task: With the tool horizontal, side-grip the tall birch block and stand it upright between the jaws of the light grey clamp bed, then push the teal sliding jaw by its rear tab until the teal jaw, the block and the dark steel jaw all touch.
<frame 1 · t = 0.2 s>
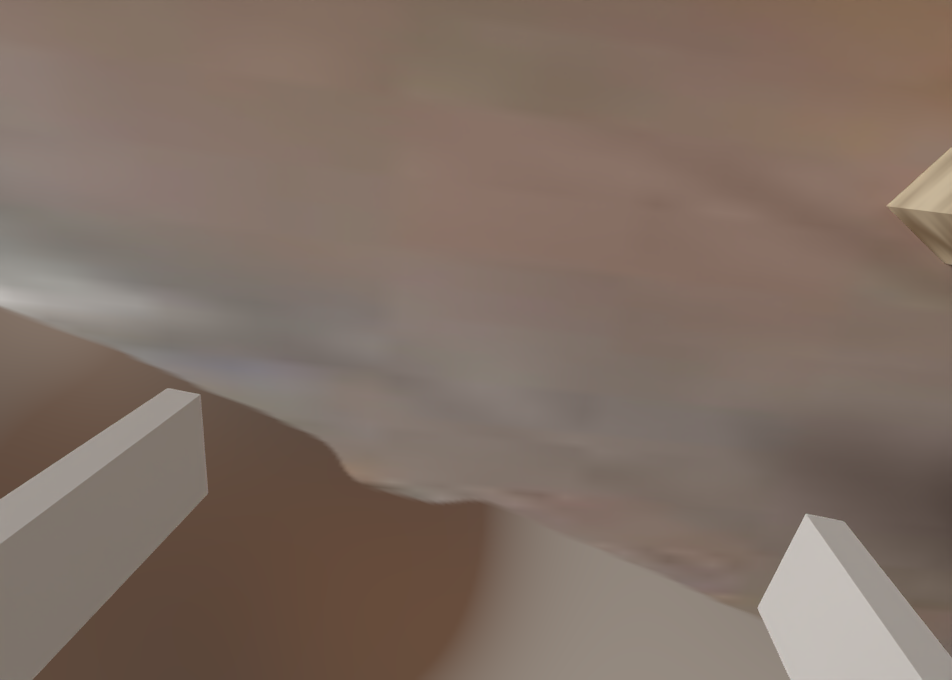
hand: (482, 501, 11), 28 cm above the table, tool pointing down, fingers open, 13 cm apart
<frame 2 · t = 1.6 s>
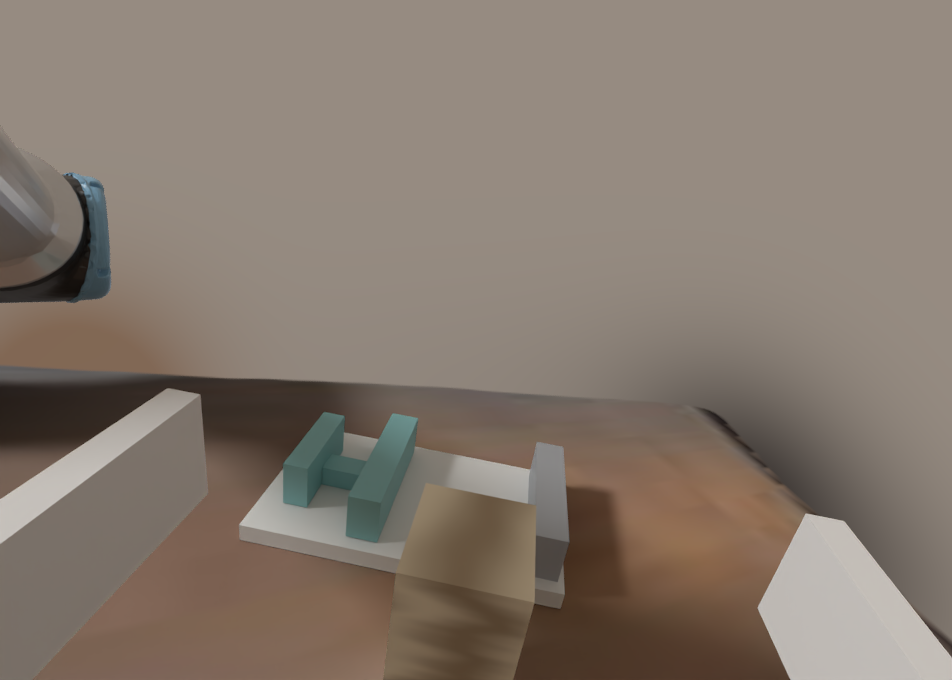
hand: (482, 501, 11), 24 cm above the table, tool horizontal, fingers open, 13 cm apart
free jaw: (352, 464, 43), point 4 cm above the table, slide at 0.0 cm
clamp bed: (434, 513, 44), on the table
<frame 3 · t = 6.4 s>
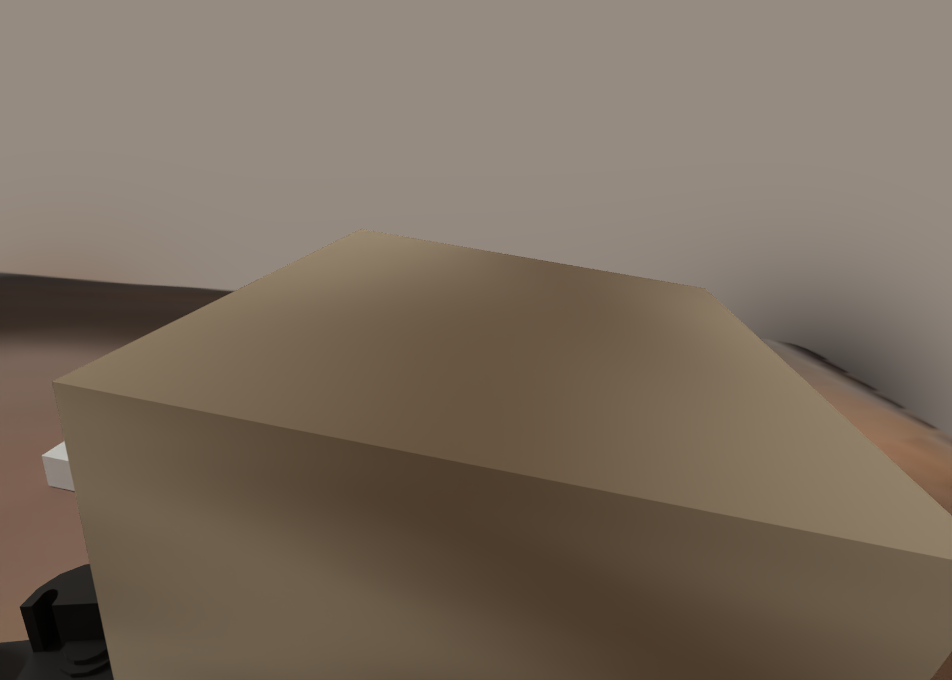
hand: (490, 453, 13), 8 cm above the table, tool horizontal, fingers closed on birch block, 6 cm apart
clamp bed: (419, 453, 26), on the table
when the fingers open (11 cm above the table, at t = 11.5 s): birch block drops 1 cm, resting on clamp bed.
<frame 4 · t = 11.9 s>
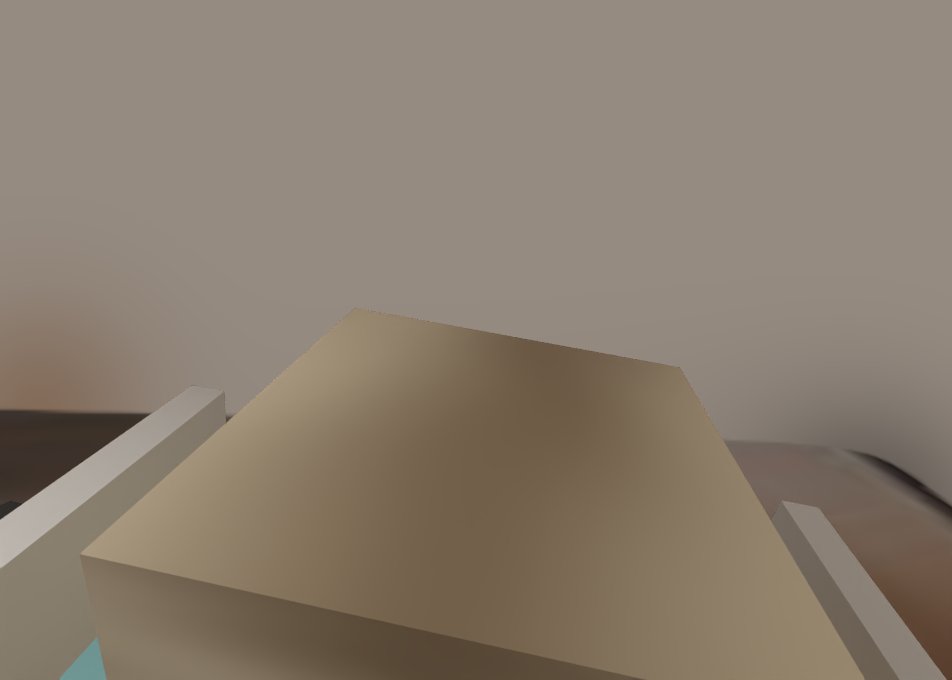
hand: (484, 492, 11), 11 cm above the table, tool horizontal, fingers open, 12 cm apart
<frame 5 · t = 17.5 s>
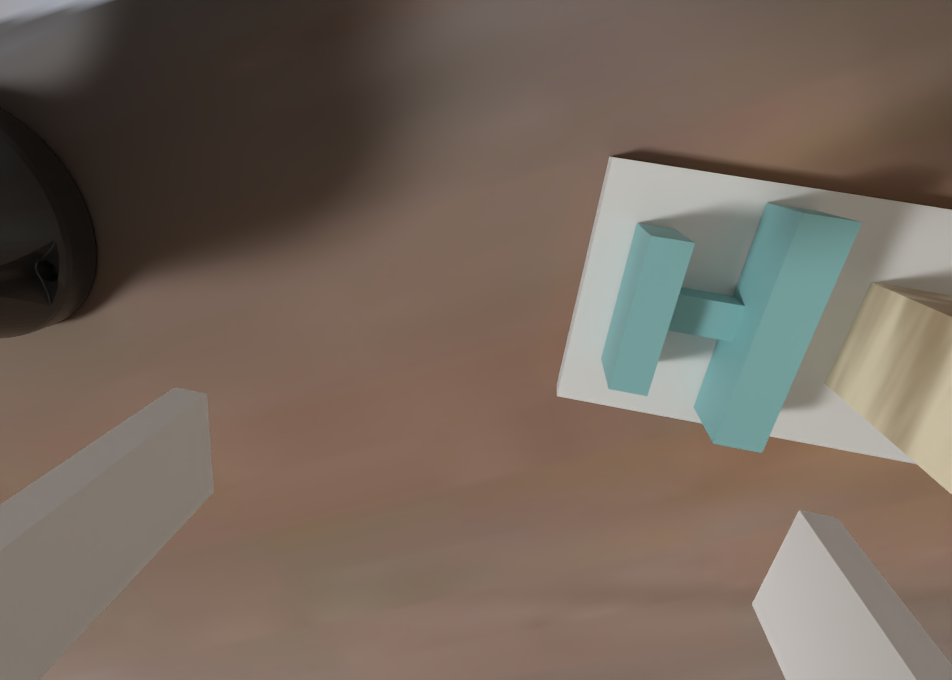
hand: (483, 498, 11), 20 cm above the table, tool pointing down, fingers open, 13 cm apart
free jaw: (704, 319, 26), point 4 cm above the table, slide at 0.0 cm
birch block: (904, 344, 27), point 1 cm above the table, touching clamp bed
clamp bed: (824, 323, 29), on the table
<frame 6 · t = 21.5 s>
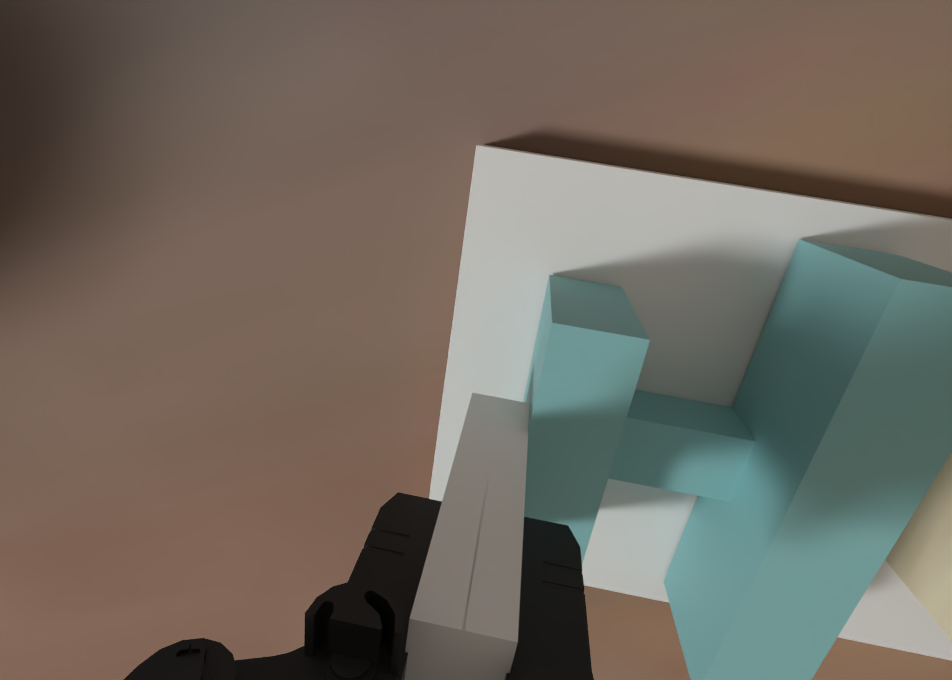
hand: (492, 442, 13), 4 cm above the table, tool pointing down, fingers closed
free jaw: (678, 464, 13), point 4 cm above the table, slide at 0.5 cm, touching gripper
clamp bed: (876, 441, 16), on the table
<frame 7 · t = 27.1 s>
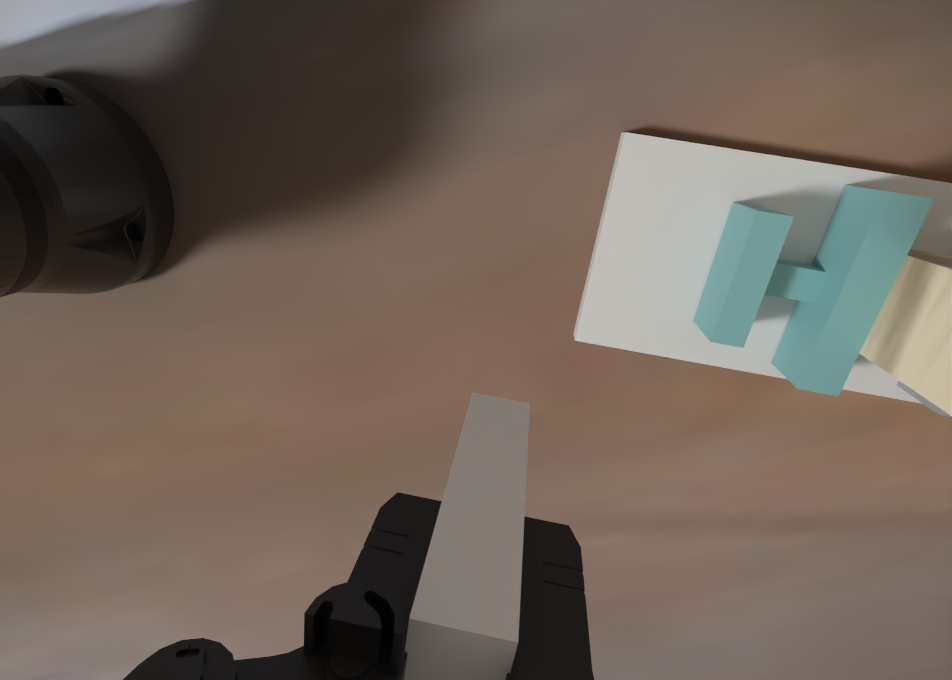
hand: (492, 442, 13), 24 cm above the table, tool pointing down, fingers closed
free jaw: (791, 283, 31), point 4 cm above the table, slide at 5.5 cm, touching birch block
birch block: (891, 295, 32), point 1 cm above the table, touching clamp bed, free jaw
clamp bed: (801, 275, 34), on the table
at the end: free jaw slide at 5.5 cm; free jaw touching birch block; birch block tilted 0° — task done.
